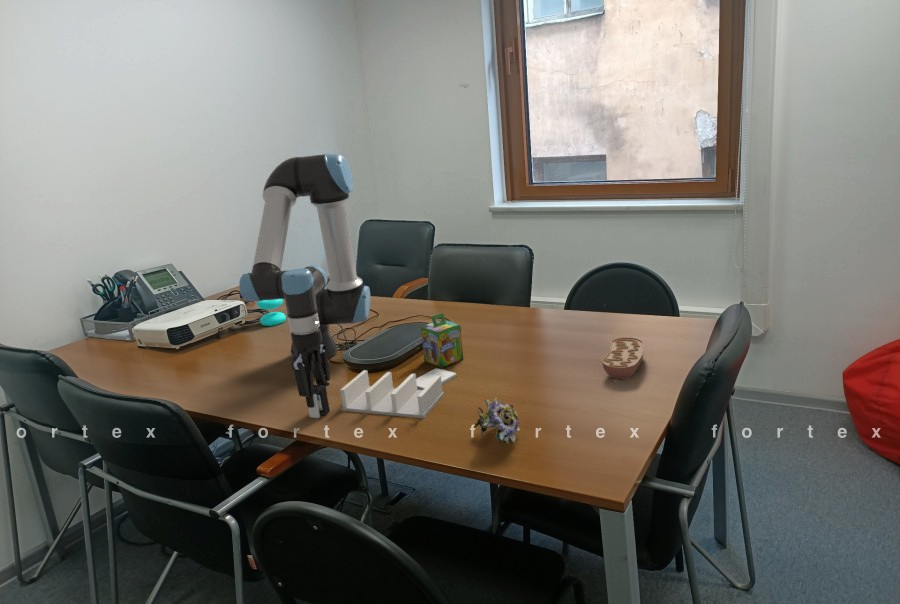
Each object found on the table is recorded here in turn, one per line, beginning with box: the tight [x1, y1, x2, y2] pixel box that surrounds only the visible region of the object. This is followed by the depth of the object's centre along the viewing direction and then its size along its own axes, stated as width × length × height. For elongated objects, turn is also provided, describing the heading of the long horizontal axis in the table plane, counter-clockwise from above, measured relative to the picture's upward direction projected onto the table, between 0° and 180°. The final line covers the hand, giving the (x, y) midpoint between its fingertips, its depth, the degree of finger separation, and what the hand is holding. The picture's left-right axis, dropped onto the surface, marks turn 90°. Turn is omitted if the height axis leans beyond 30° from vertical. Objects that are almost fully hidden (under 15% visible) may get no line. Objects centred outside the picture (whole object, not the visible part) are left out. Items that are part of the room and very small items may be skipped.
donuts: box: [256, 299, 287, 327], centre depth 249 cm, size 10×10×10 cm
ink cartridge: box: [313, 384, 331, 417], centre depth 167 cm, size 5×2×8 cm, turn 72°
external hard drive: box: [416, 368, 457, 390], centre depth 182 cm, size 2×8×12 cm
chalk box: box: [420, 312, 464, 368], centre depth 194 cm, size 9×9×15 cm
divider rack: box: [339, 369, 445, 419], centre depth 170 cm, size 14×24×6 cm, turn 69°
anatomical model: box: [602, 336, 645, 380], centre depth 178 cm, size 23×10×5 cm, turn 157°
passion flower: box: [473, 397, 521, 445], centre depth 146 cm, size 11×11×12 cm
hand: (319, 412), depth 168 cm, fingers open, 4 cm apart
